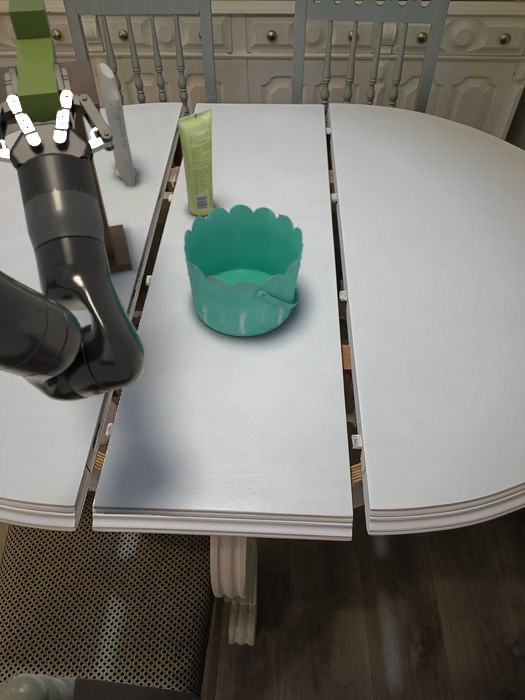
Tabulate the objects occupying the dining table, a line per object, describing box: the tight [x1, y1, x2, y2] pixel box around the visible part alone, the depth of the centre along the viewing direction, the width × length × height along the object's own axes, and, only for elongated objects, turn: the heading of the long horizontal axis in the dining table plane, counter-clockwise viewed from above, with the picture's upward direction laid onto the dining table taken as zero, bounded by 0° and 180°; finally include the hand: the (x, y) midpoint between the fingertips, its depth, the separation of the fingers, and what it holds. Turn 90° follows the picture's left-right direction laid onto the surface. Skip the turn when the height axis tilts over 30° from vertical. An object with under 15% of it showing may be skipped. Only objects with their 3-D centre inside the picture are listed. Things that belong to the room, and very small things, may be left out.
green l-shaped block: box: [8, 0, 62, 122], centre depth 61 cm, size 4×21×6 cm, turn 17°
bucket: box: [183, 204, 305, 337], centre depth 85 cm, size 19×18×13 cm
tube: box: [177, 107, 214, 217], centre depth 100 cm, size 6×5×20 cm
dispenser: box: [99, 62, 137, 187], centre depth 107 cm, size 11×4×22 cm, turn 25°
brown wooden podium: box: [0, 59, 133, 274], centre depth 83 cm, size 12×19×32 cm, turn 17°
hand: (35, 70), depth 59 cm, fingers closed on green l-shaped block, 4 cm apart
